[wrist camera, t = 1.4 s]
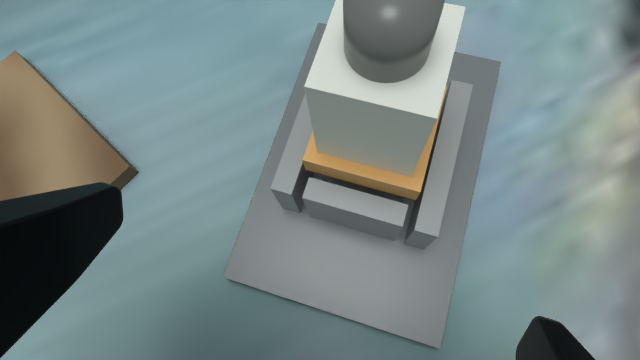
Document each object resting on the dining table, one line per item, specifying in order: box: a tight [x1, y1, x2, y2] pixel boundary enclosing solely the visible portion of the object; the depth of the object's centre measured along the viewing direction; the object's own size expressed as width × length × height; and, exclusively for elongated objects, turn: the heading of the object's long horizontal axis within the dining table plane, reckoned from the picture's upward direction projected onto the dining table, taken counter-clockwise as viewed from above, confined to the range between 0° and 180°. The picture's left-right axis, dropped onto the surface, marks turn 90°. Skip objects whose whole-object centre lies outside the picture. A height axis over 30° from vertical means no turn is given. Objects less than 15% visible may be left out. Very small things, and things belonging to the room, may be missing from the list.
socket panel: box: [223, 23, 501, 349], centre depth 21 cm, size 16×11×4 cm
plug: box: [302, 0, 466, 202], centre depth 16 cm, size 5×5×12 cm
